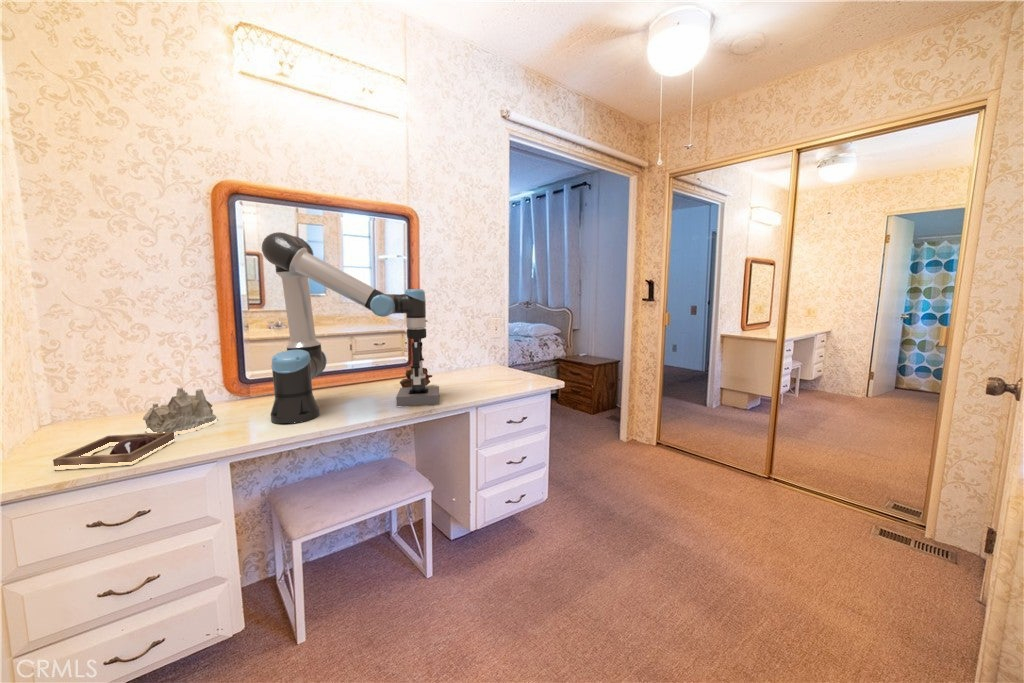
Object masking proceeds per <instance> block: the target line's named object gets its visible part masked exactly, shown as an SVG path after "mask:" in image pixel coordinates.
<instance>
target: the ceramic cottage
mask: <svg viewBox="0 0 1024 683" xmlns="http://www.w3.org/2000/svg"><path fill="white" fill-rule="evenodd" d="M212 407H213V404H212V403H210V402H209V401H208V400H207V398H206V396H205V392H204V390H203V388H197V389H195V394H194V395H193V394H189V393H188V392H187V391H186V390H185V389H183V387H177V390H176V394H175V395H173V396H171V398H170V400H169V401H168V404H161V405H160V406H159V404H158V403H153V404H152V407H150V408H149V409H148V411H147V412H146V413H145V414H144V415H143V418H142V420H144V422H145V425H146V429H147V428H150V429H151V430H152V431H153V432H157V433H163V432H176V431H182V430H188V429H191V428H195V427H198V426H200V425H202V424H205V423H209V422H212V421H214V420H215V419H216V418H217V416H216V414H214V412H213V411H214V410H213V409H212Z"/></svg>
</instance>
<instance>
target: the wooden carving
mask: <svg viewBox="0 0 1024 683" xmlns="http://www.w3.org/2000/svg"><path fill="white" fill-rule="evenodd" d="M428 371H429V370H428V368H426V367H423V374H425V376H426V378H425V387H428V385H429V384H430V383H431V380H430V378H432V377H433V374H428V373H429V372H428ZM412 374H413V369H411V368H410V369H407V370H406V371H405V376H406V378H403V379H400V381H399V384H400V386H401V388H408V387H412V386H411V375H412Z"/></svg>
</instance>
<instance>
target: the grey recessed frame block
mask: <svg viewBox="0 0 1024 683" xmlns="http://www.w3.org/2000/svg"><path fill="white" fill-rule="evenodd" d="M425 387H426V393H425V394H412V387H408V388H402V387H400V388H399V390H398V392H397V394H396V395H395V396H396V397H395V398H396V407H397V406H409V407H419V406H418V405H428V406H438V405H437V404H439V405H440V386H439V385H438V386H437V385H436V386H433V385H432V386H431V385H430V386H425Z"/></svg>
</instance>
